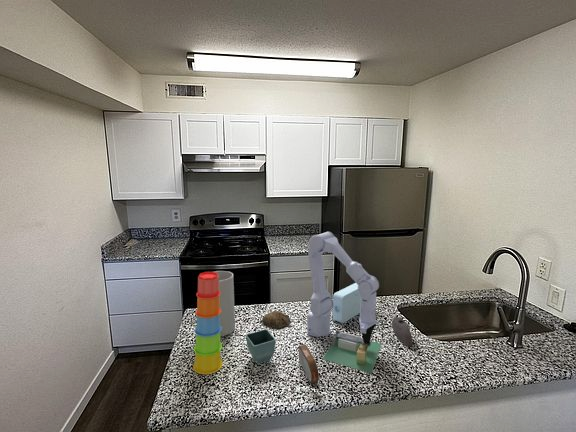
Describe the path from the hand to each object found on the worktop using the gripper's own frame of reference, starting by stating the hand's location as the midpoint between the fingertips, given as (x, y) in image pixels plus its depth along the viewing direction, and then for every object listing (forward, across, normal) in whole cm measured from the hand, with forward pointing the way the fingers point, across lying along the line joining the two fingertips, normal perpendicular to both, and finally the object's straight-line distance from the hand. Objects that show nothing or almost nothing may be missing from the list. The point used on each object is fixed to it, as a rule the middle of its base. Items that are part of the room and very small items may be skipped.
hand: (366, 341), depth 119 cm
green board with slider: (+4, -3, +4) cm, 7 cm away
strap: (+1, 0, +6) cm, 6 cm away
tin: (+4, -22, +15) cm, 27 cm away
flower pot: (+4, -22, +34) cm, 41 cm away
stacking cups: (+4, -34, +49) cm, 60 cm away
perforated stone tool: (+5, +15, -12) cm, 20 cm away
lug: (+3, -7, 0) cm, 8 cm away
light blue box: (+4, +28, +14) cm, 31 cm away
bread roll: (+5, +5, +42) cm, 43 cm away
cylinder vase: (+4, -12, +61) cm, 63 cm away
